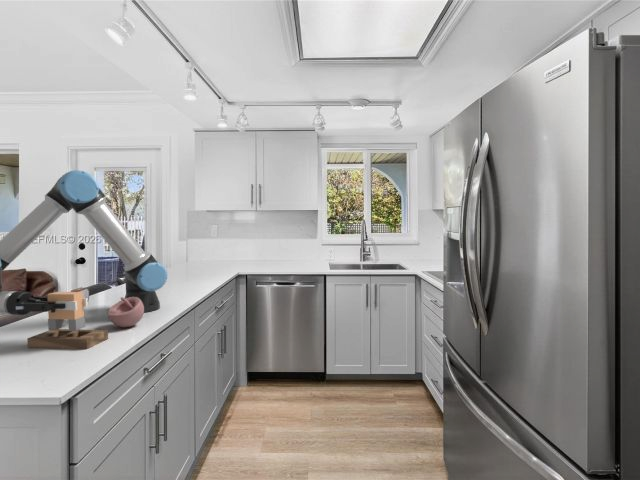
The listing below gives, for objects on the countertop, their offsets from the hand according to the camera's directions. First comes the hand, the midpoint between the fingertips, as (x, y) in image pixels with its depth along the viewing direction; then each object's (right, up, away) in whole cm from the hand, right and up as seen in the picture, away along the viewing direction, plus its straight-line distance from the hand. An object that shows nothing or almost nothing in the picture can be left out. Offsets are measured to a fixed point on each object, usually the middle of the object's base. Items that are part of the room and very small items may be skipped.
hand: (81, 304), depth 123 cm
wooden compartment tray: (-5, -13, +2) cm, 14 cm away
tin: (-35, -11, +55) cm, 66 cm away
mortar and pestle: (+5, -12, +20) cm, 23 cm away
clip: (-5, -8, +1) cm, 10 cm away
